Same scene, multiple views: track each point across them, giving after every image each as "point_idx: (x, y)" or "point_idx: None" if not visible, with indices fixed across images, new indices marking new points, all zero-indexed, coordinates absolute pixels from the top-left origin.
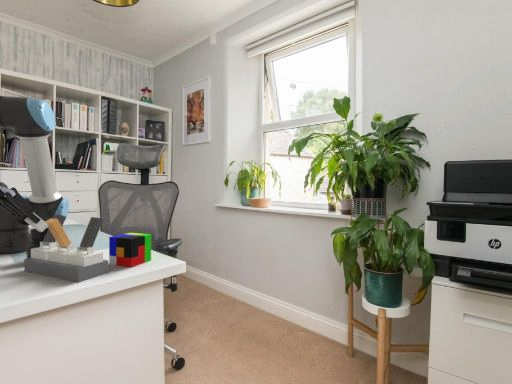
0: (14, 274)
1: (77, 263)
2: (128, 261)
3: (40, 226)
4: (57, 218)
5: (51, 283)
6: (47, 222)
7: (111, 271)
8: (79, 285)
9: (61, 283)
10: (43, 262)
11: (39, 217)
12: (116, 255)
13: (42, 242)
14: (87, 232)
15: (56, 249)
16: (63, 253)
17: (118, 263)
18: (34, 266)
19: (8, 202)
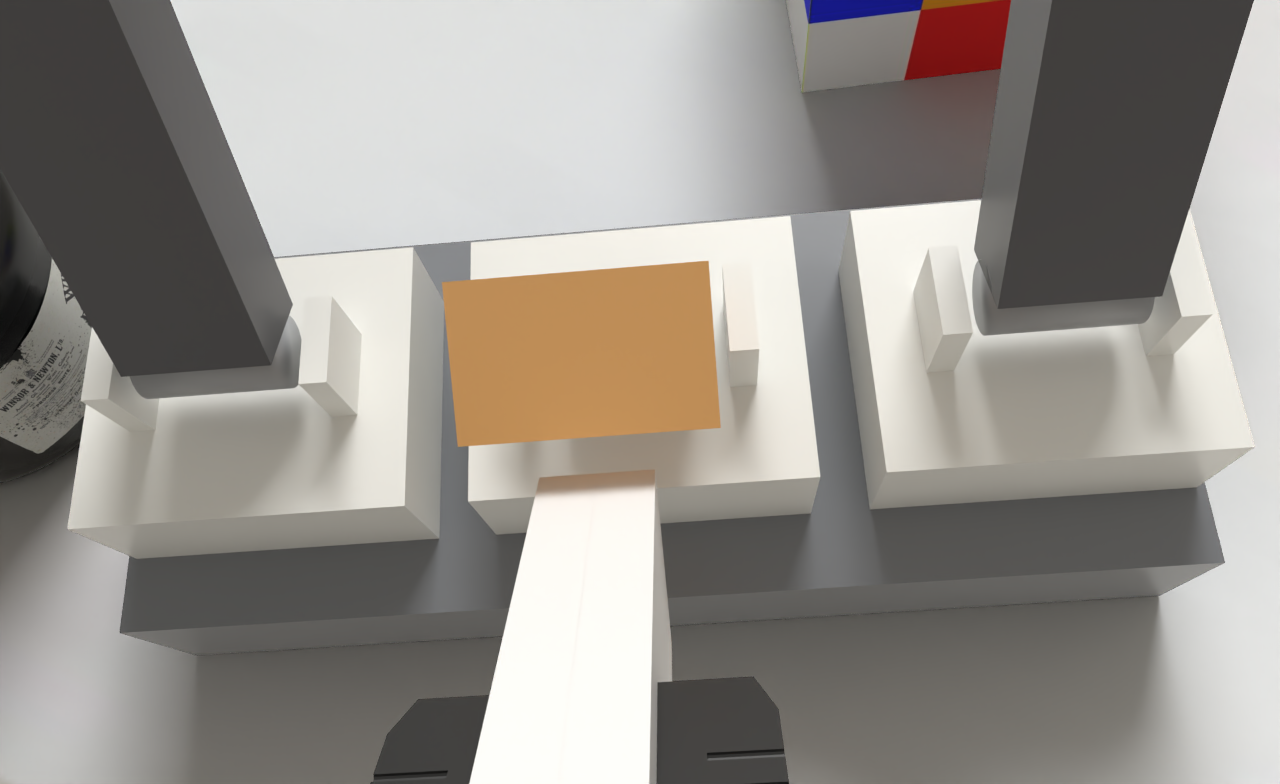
0: (216, 777)
1: (1082, 488)
2: None
3: (668, 665)
4: None
5: (940, 760)
6: (557, 439)
7: None
8: (1277, 654)
9: (1037, 708)
10: None
11: (654, 656)
12: (921, 1)
13: (114, 383)
14: (1098, 102)
15: (412, 362)
16: (788, 466)
17: (938, 60)
18: (358, 631)
19: None
